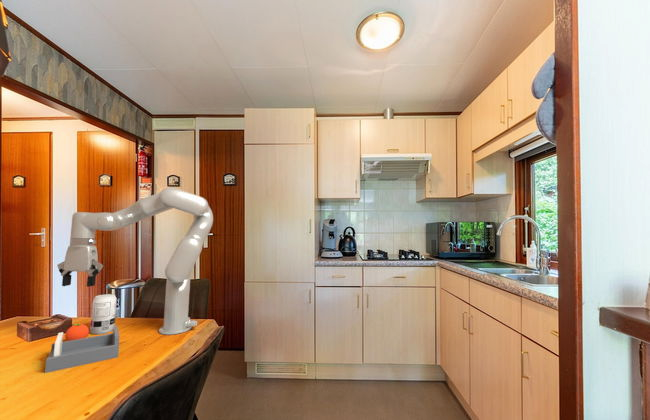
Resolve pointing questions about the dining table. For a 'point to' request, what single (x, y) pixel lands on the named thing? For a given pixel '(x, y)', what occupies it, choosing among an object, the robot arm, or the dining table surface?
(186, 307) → the robot arm
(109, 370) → the dining table surface
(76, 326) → the clementine
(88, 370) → the dining table surface
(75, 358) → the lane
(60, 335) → the pusher
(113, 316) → the supplement can
